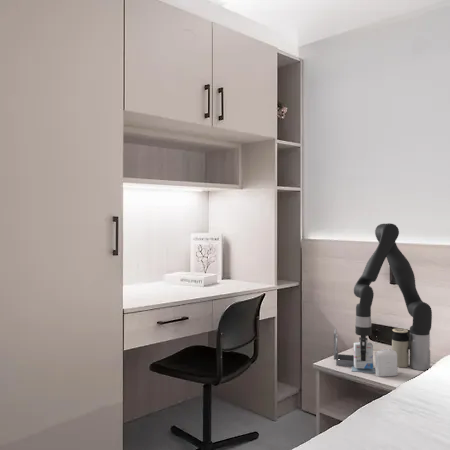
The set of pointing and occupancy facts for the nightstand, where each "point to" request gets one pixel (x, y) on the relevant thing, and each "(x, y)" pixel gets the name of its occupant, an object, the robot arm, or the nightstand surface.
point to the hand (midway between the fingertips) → (363, 358)
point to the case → (342, 355)
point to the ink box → (357, 356)
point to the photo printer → (386, 363)
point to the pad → (363, 370)
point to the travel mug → (401, 346)
